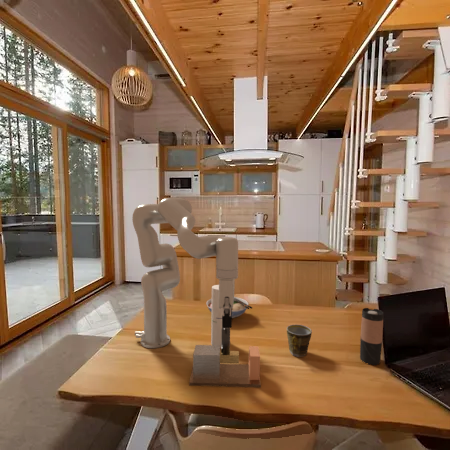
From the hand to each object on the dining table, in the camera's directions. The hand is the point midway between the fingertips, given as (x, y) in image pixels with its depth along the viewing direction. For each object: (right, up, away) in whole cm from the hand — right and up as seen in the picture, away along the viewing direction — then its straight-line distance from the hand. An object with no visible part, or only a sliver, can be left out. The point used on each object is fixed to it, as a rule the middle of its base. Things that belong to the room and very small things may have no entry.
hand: (227, 321), depth 104 cm
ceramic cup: (+29, -19, +17) cm, 39 cm away
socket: (+9, -19, +2) cm, 21 cm away
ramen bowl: (0, -16, +56) cm, 58 cm away
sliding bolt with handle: (-4, -14, +2) cm, 15 cm away
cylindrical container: (-3, -18, +26) cm, 32 cm away
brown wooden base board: (-1, -20, +2) cm, 20 cm away
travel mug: (+57, -20, +14) cm, 62 cm away
